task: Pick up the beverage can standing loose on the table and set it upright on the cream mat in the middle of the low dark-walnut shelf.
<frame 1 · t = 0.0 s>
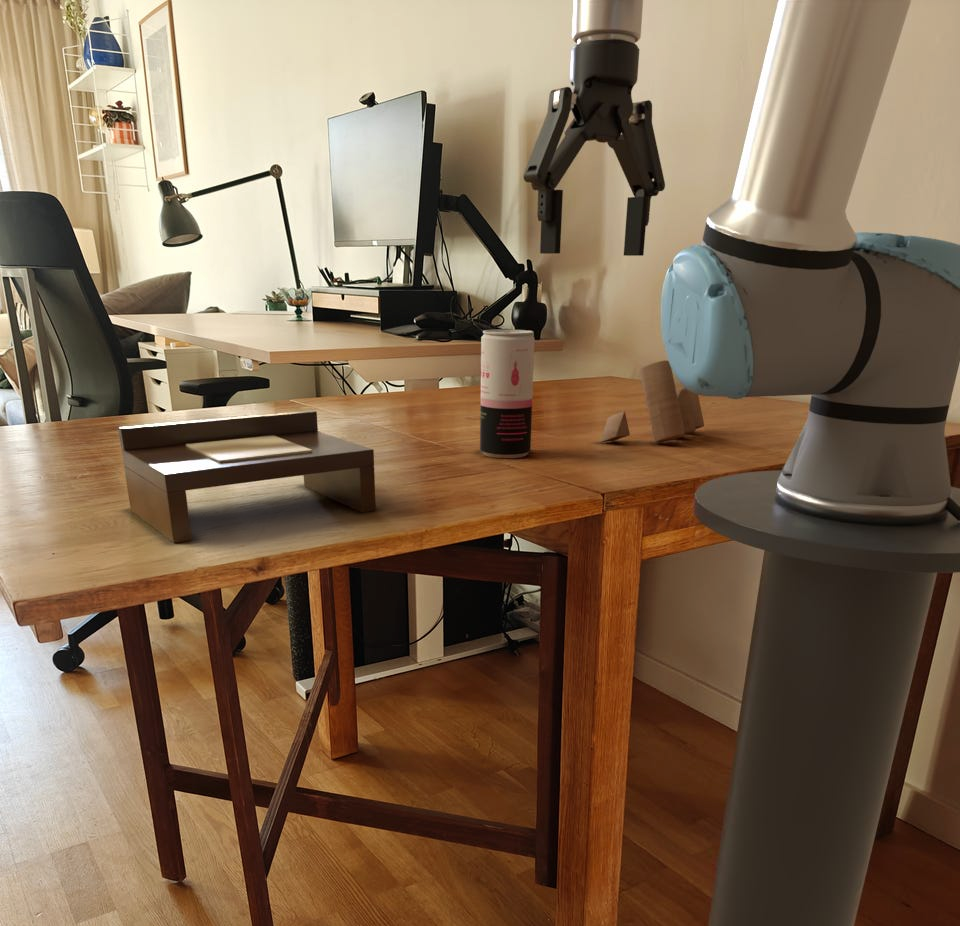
hand: (593, 255, 104), 24 cm above the table, tool pointing down, fingers open, 13 cm apart
wooden block set: (661, 441, 123), on the table
shelf: (254, 510, 85), on the table
beverage can: (505, 455, 112), on the table
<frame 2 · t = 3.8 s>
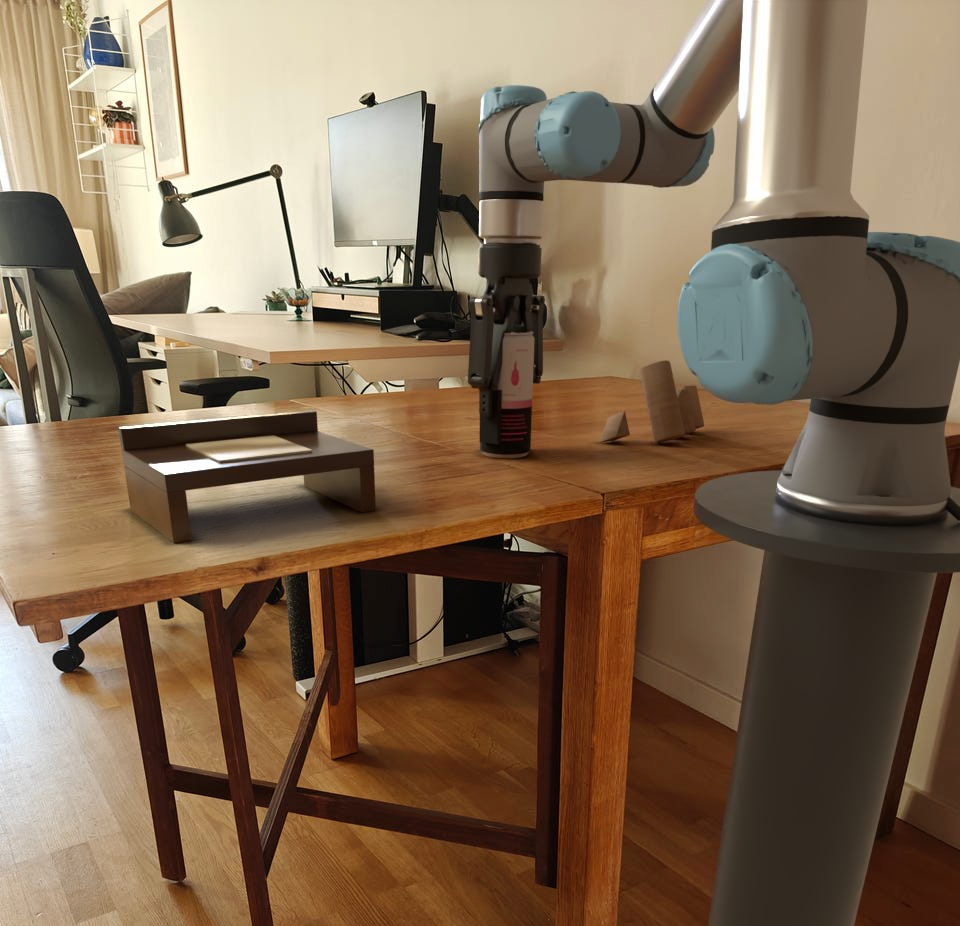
hand: (505, 438, 111), 2 cm above the table, tool pointing down, fingers closed on beverage can, 6 cm apart
beverage can: (505, 455, 112), on the table, touching gripper
everything else where it was.
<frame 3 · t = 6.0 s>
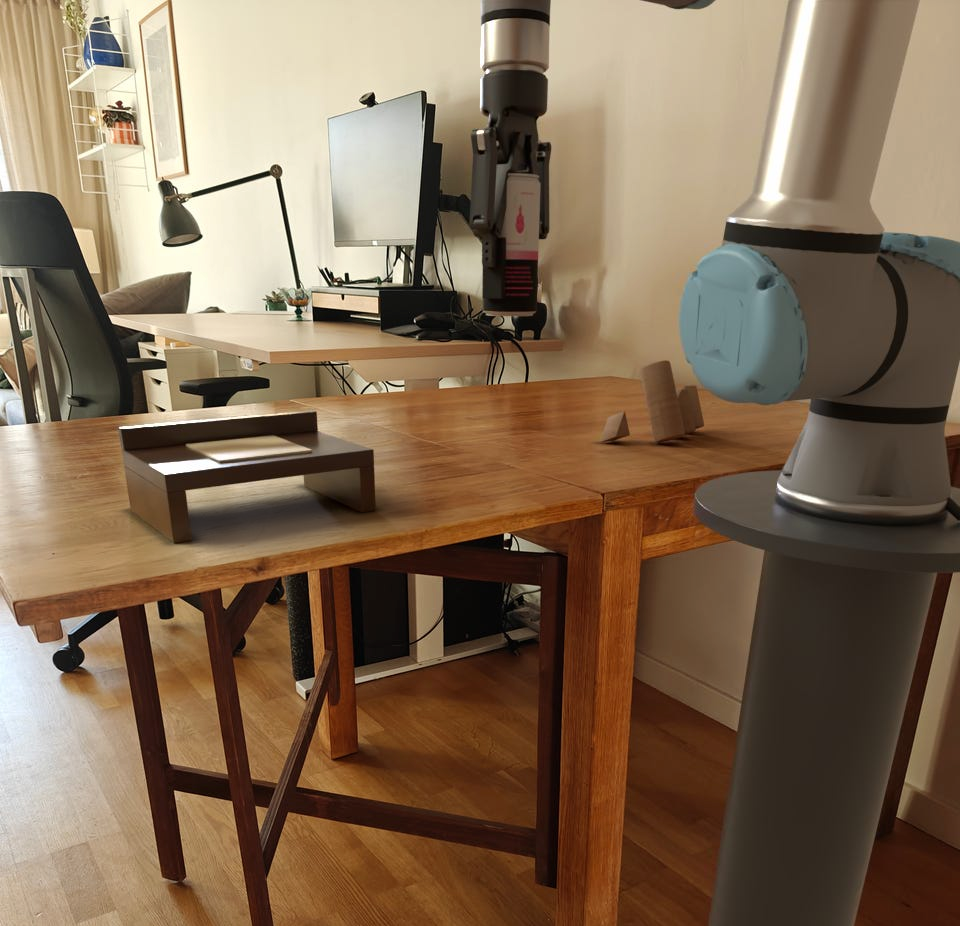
hand: (510, 297, 104), 19 cm above the table, tool pointing down, fingers closed on beverage can, 6 cm apart
beverage can: (509, 317, 105), point 17 cm above the table, touching gripper
everything else where it was.
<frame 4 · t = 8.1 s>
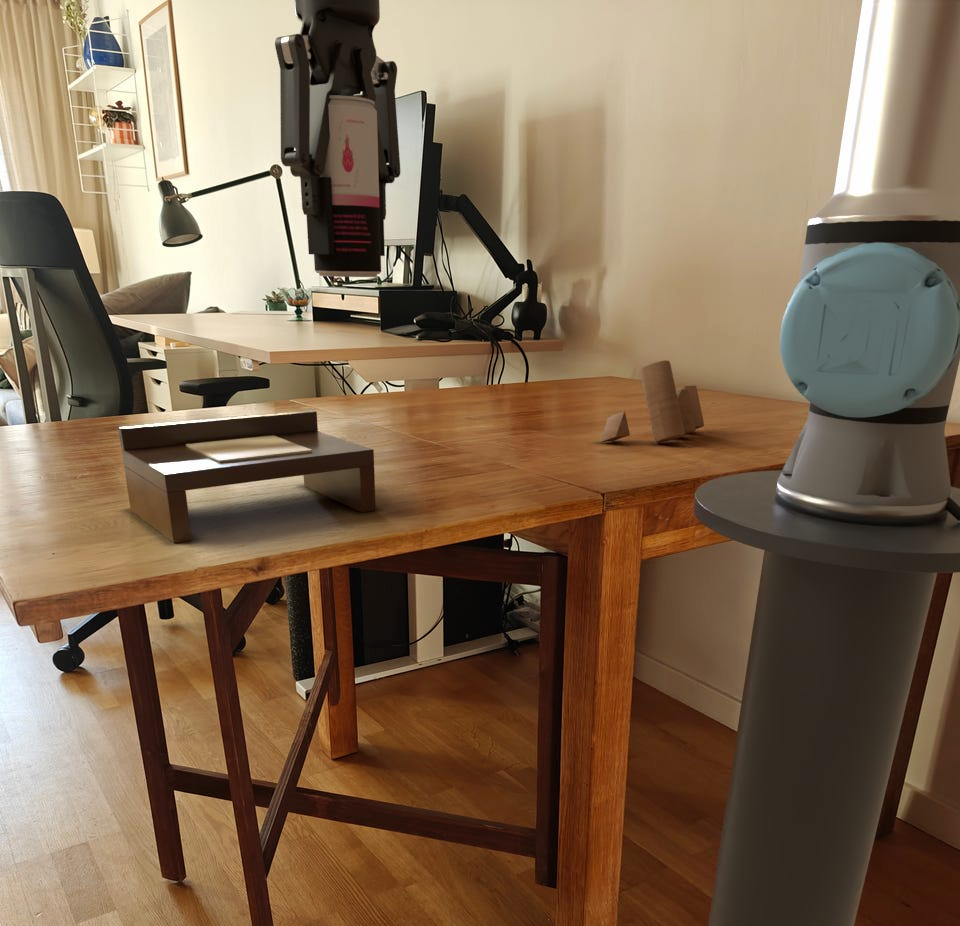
hand: (347, 254, 85), 23 cm above the table, tool pointing down, fingers closed on beverage can, 6 cm apart
beverage can: (348, 278, 86), point 21 cm above the table, touching gripper
everything else where it was.
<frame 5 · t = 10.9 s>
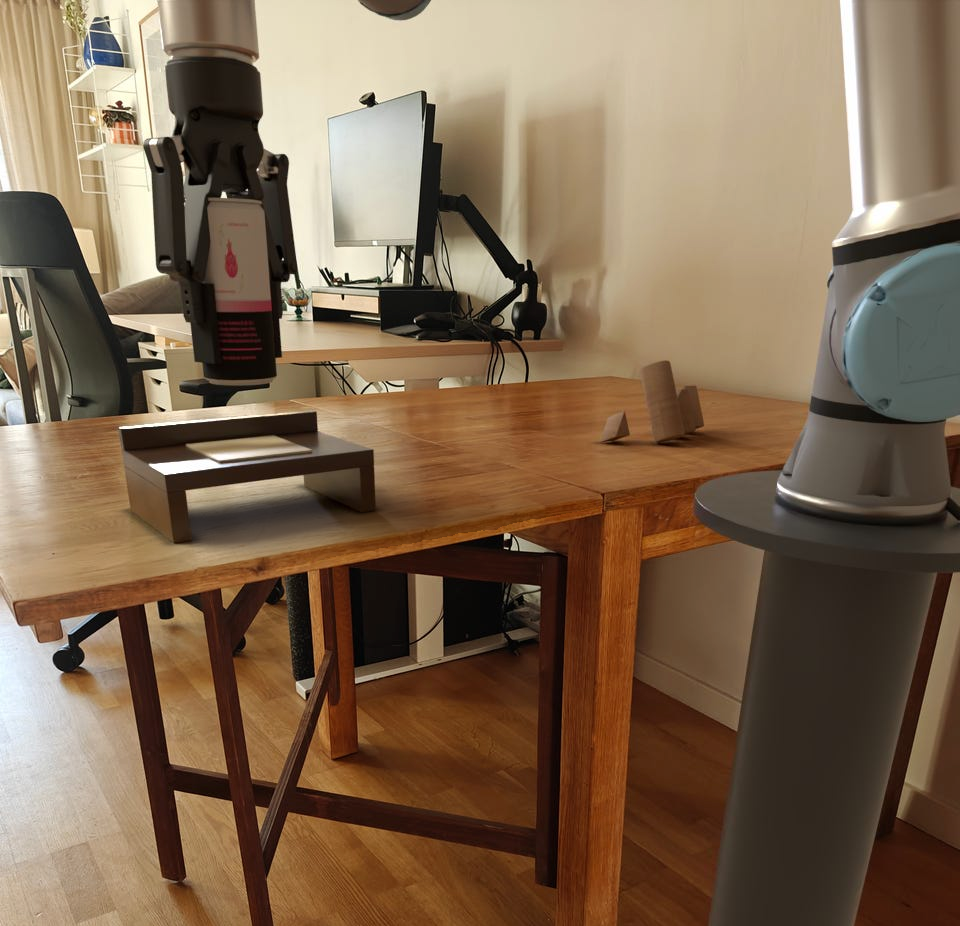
hand: (239, 359, 79), 14 cm above the table, tool pointing down, fingers closed on beverage can, 6 cm apart
beverage can: (241, 383, 80), point 12 cm above the table, touching gripper
everything else where it was.
when the fingers open (8 cm above the table, at t = 12.6 s): beverage can stays where it is, resting on shelf.
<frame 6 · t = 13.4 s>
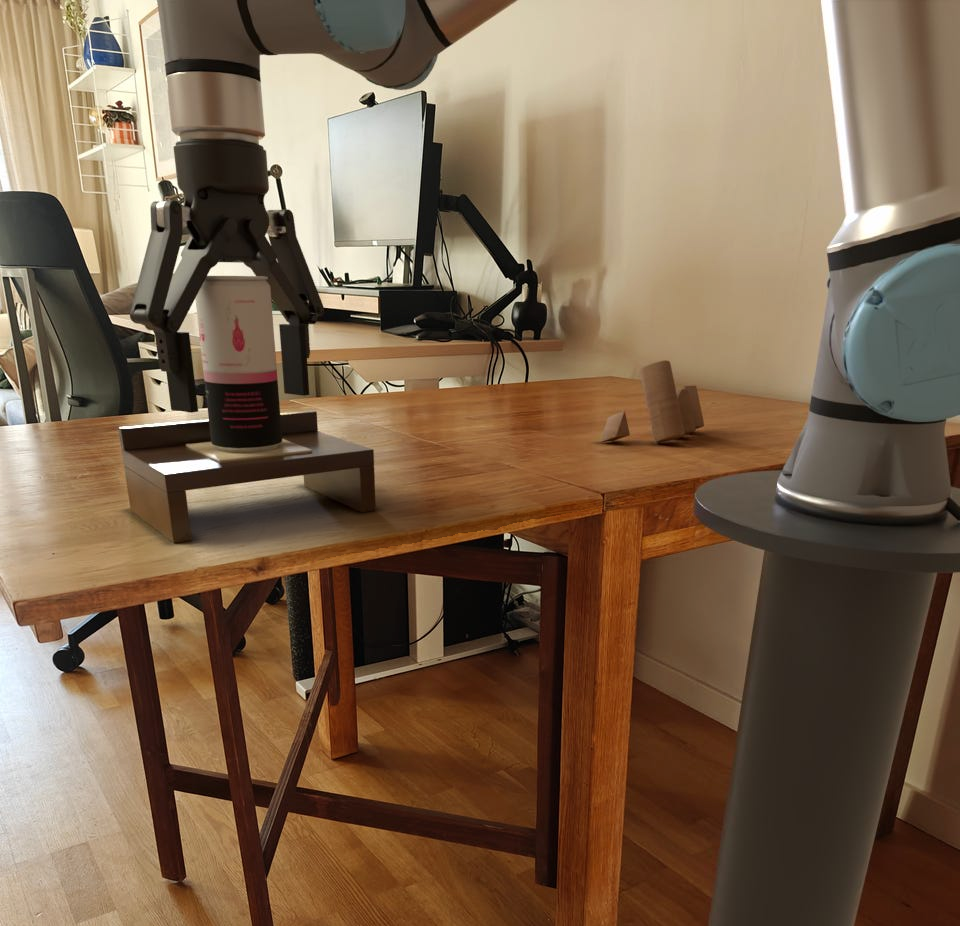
hand: (244, 402, 81), 10 cm above the table, tool pointing down, fingers open, 13 cm apart
beverage can: (247, 448, 82), point 6 cm above the table, touching shelf
everything else where it was.
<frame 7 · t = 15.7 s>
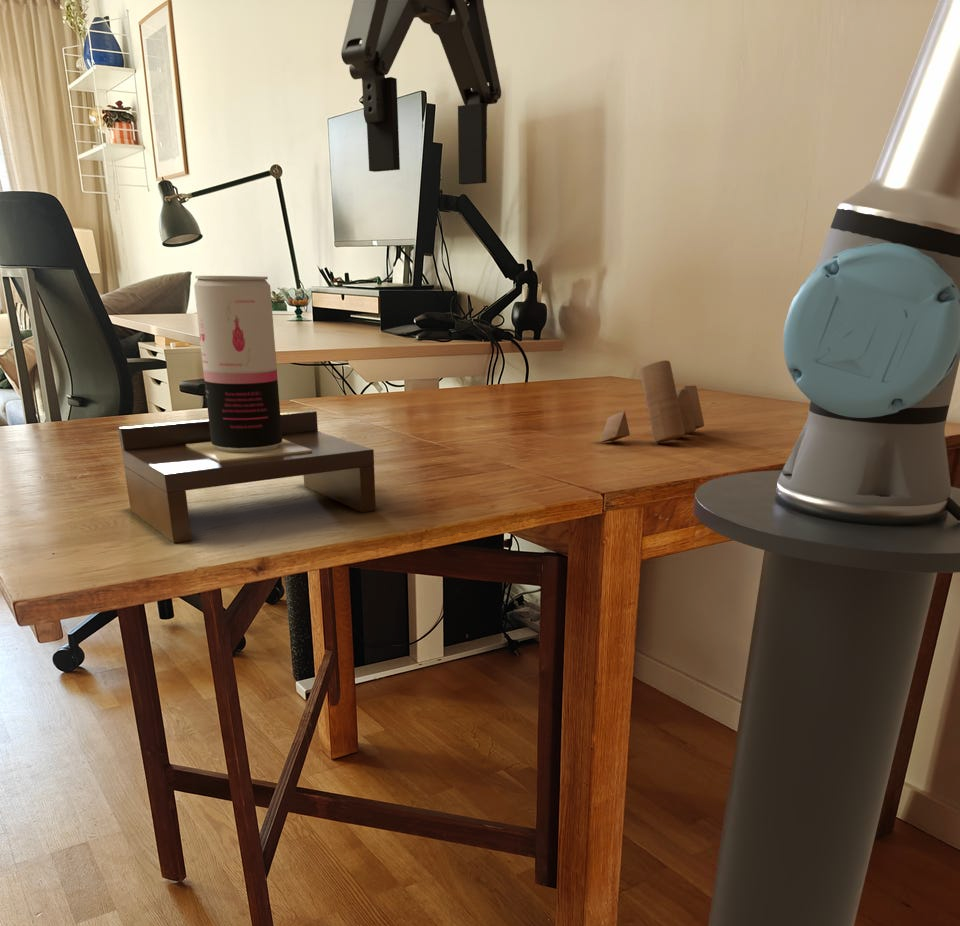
hand: (431, 178, 78), 30 cm above the table, tool pointing down, fingers open, 13 cm apart
nothing on the table moved.
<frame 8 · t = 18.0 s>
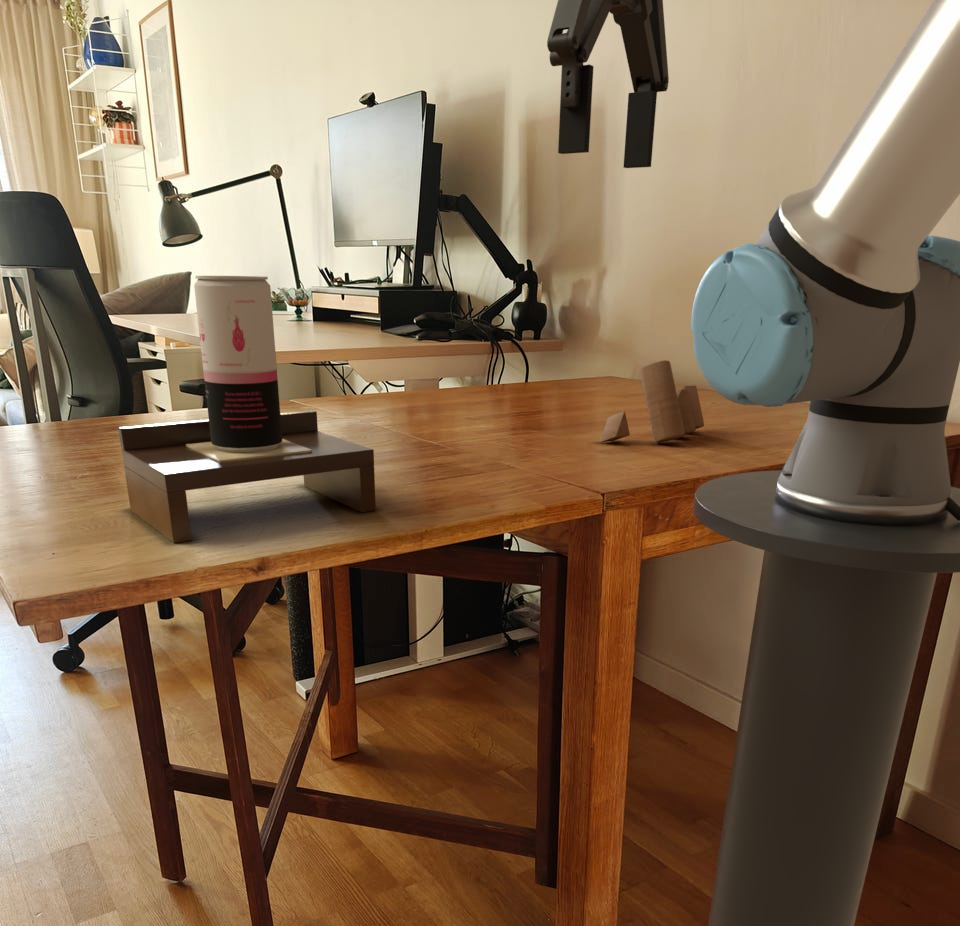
hand: (607, 161, 82), 32 cm above the table, tool pointing down, fingers open, 13 cm apart
nothing on the table moved.
at the end: beverage can 0.1 cm off-centre on the shelf, point 6.0 cm above the shelf's base; beverage can tilted 0°; the gripper is holding nothing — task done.
